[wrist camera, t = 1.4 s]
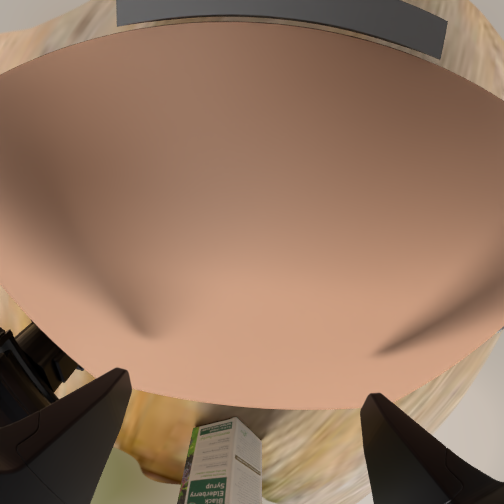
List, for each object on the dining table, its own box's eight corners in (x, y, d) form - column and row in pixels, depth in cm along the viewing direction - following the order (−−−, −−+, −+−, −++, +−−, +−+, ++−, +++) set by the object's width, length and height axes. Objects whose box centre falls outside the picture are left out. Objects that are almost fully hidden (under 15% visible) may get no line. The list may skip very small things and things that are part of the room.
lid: (102, 356, 17) (95, 381, 16) (-48, 84, 3) (-90, 115, 2) (385, 382, 17) (388, 407, 16) (582, 143, 3) (616, 181, 2)
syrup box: (236, 414, 26) (223, 541, 12) (264, 441, 27) (262, 552, 13) (192, 426, 27) (166, 538, 13) (222, 451, 28) (208, 552, 14)
